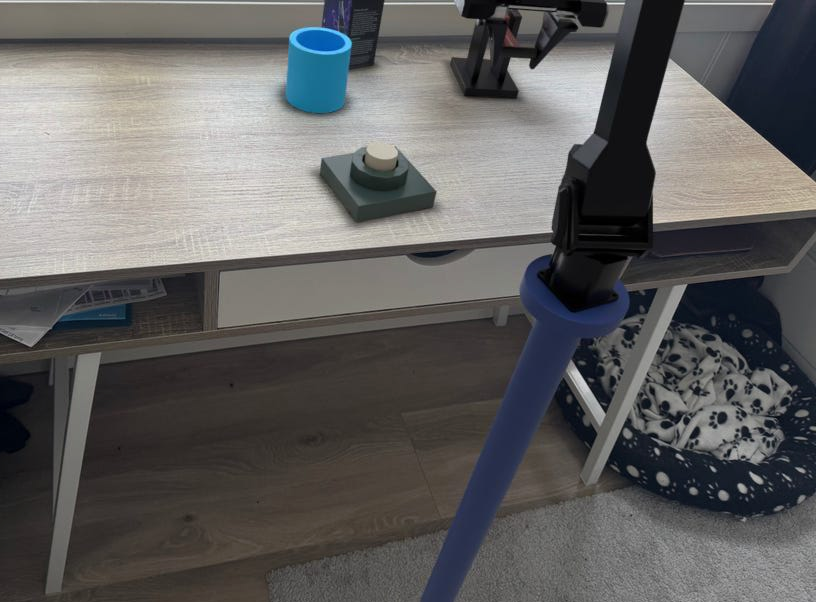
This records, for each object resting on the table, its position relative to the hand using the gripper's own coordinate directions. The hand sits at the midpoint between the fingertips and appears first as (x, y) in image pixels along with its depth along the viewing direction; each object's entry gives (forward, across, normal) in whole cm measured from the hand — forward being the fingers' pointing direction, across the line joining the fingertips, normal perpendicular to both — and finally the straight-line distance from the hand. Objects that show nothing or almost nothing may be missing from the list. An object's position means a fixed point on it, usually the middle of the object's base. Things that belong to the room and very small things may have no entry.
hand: (512, 66), depth 98 cm
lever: (-1, 0, -5) cm, 5 cm away
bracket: (+7, 0, -10) cm, 12 cm away
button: (+3, +20, +20) cm, 29 cm away
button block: (+7, +20, +20) cm, 29 cm away
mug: (+7, +26, -3) cm, 28 cm away
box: (+7, +20, -15) cm, 26 cm away
